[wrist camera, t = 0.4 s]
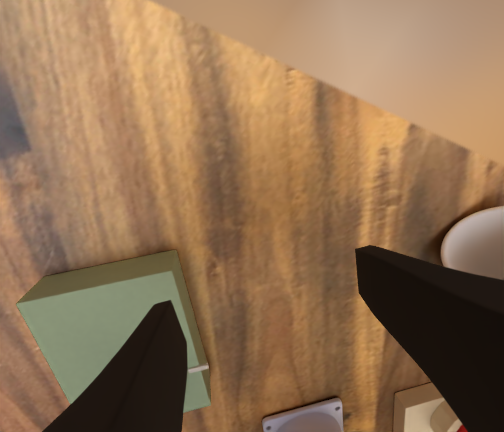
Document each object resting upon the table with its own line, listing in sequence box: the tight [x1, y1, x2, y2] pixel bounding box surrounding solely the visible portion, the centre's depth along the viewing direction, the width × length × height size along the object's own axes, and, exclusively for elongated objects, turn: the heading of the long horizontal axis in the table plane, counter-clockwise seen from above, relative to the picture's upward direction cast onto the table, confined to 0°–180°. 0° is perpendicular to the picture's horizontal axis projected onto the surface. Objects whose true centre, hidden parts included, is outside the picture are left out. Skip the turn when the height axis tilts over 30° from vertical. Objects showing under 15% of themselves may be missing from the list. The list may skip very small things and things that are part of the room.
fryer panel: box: [16, 250, 211, 413], centre depth 20 cm, size 12×10×3 cm
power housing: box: [393, 383, 463, 432], centre depth 30 cm, size 10×9×4 cm
